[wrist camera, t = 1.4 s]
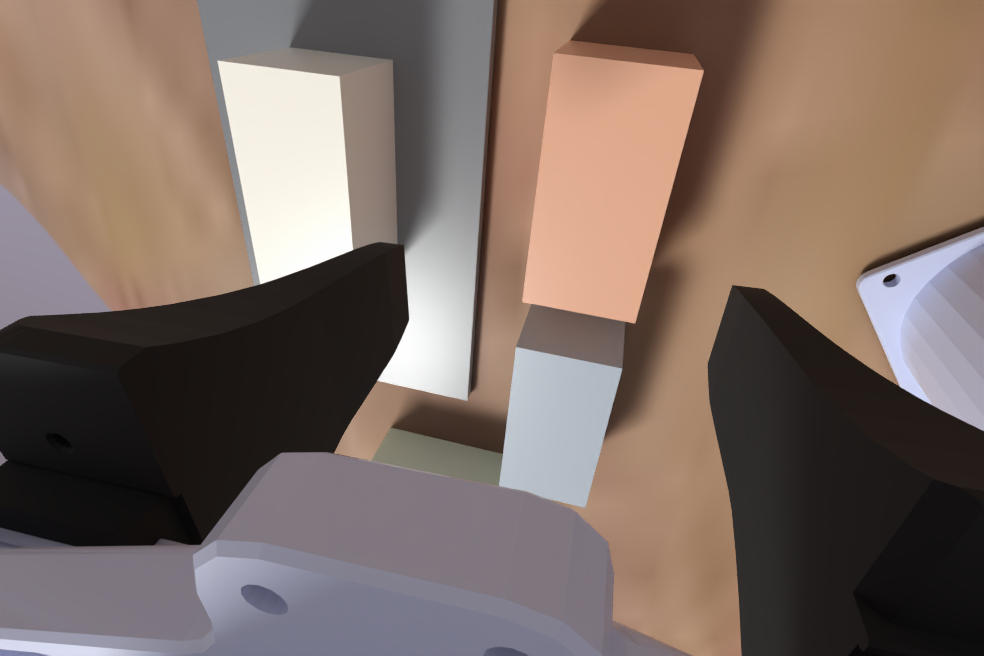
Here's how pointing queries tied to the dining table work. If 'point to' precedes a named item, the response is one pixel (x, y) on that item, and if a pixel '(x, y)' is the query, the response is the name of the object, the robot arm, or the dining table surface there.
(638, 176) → the terracotta brick
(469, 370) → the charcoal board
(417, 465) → the sage brick
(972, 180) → the dining table surface
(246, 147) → the cream brick
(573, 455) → the slate brick
